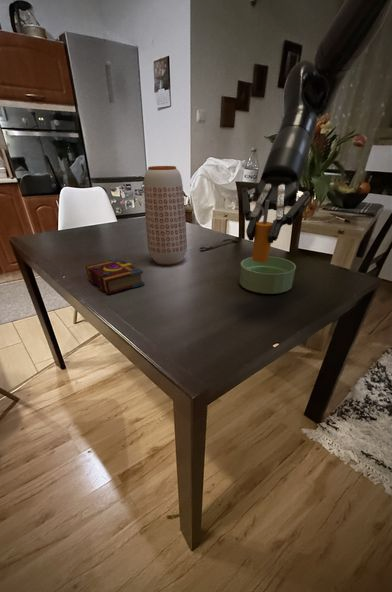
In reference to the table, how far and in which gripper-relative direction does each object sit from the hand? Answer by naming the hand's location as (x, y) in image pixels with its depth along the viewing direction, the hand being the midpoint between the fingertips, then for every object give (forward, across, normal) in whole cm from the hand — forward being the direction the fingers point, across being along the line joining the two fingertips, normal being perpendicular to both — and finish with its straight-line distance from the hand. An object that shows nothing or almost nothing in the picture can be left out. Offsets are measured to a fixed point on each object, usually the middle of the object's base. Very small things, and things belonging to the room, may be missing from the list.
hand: (260, 239), depth 55 cm
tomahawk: (-24, -32, +50) cm, 64 cm away
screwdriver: (+2, 0, +5) cm, 5 cm away
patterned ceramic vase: (-6, -39, +32) cm, 51 cm away
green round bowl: (-3, -3, +28) cm, 29 cm away
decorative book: (+11, -44, +16) cm, 48 cm away
